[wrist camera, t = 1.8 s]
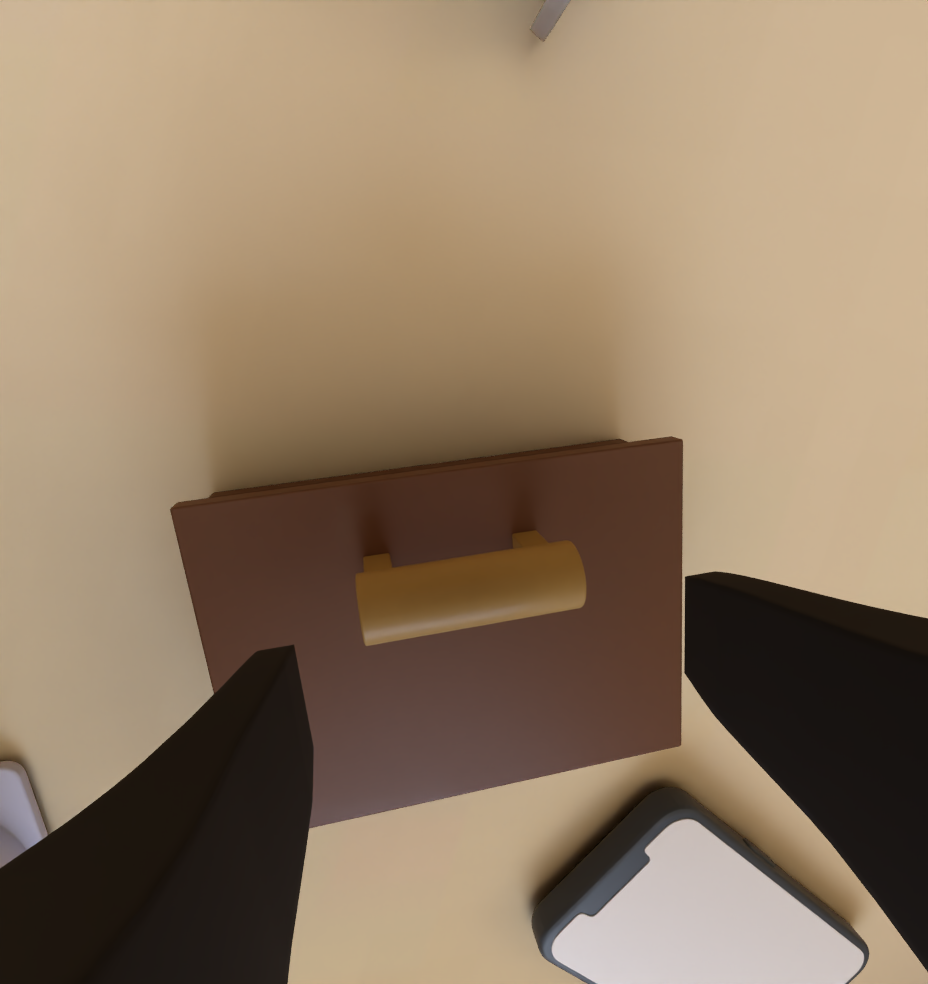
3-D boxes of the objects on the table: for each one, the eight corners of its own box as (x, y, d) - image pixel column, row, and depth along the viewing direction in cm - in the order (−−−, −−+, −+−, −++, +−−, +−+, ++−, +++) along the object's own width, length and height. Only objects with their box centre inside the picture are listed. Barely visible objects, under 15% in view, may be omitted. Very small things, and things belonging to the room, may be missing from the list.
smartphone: (855, 922, 29) (663, 766, 24) (883, 955, 27) (685, 796, 22) (728, 1043, 29) (513, 916, 24) (749, 1082, 28) (524, 955, 23)
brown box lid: (176, 502, 14) (117, 554, 11) (672, 435, 17) (761, 461, 13) (252, 826, 17) (225, 955, 14) (672, 734, 19) (746, 825, 16)
